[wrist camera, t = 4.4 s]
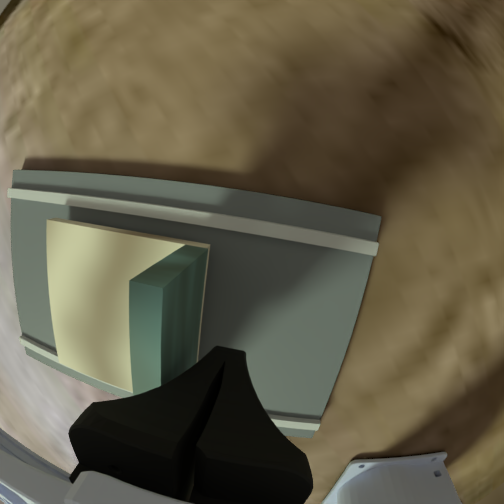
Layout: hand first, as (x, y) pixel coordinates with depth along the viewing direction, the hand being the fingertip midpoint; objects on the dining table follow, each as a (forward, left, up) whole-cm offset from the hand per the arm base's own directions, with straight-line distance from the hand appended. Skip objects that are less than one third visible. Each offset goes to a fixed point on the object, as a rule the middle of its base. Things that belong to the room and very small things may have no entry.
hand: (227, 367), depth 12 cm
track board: (+5, 0, -4) cm, 7 cm away
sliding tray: (+6, 0, -3) cm, 7 cm away
